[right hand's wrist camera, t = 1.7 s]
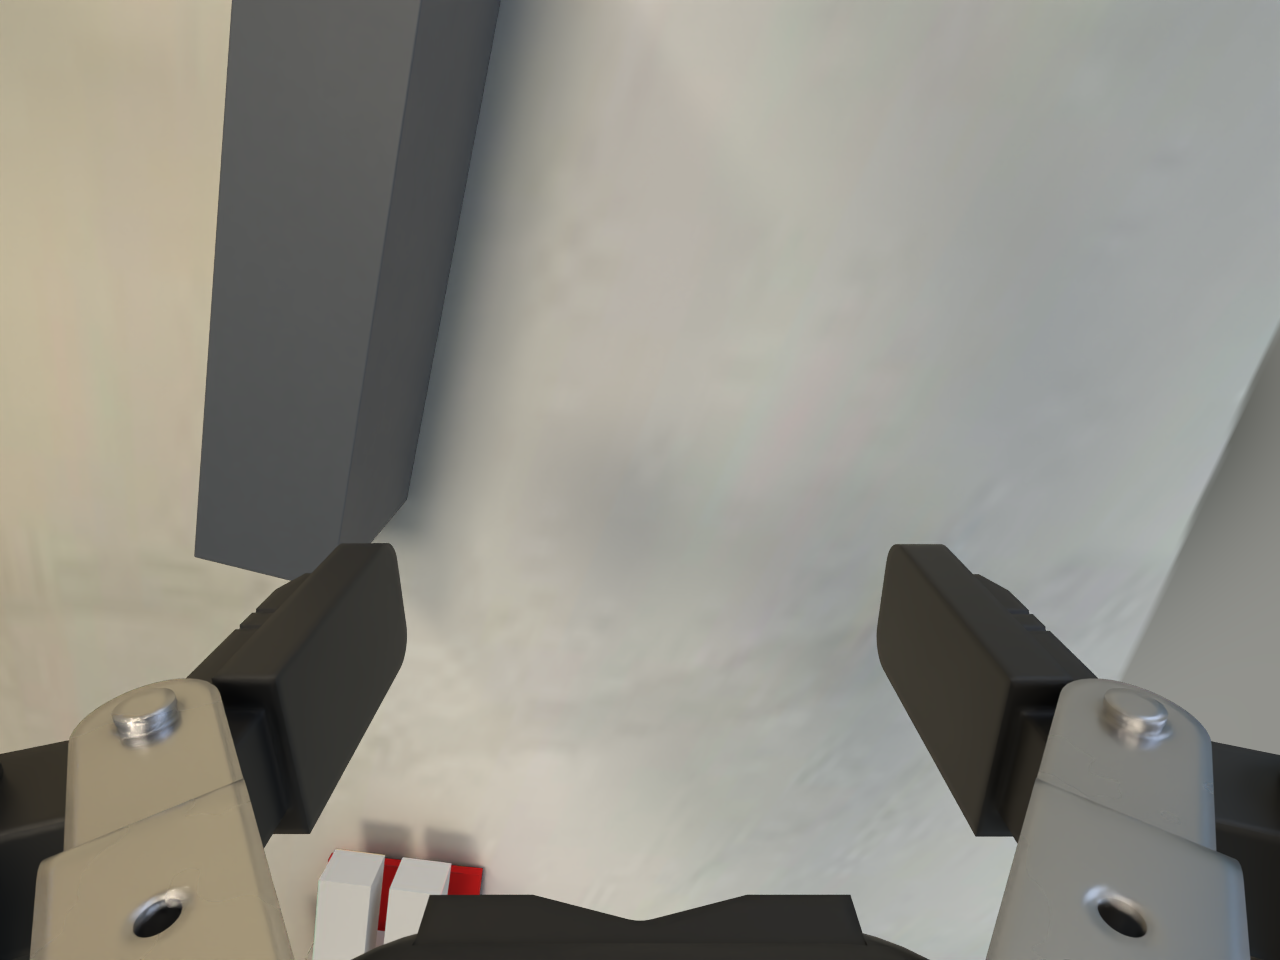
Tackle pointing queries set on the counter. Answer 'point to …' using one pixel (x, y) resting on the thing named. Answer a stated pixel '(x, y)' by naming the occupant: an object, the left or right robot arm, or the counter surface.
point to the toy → (378, 900)
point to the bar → (331, 265)
